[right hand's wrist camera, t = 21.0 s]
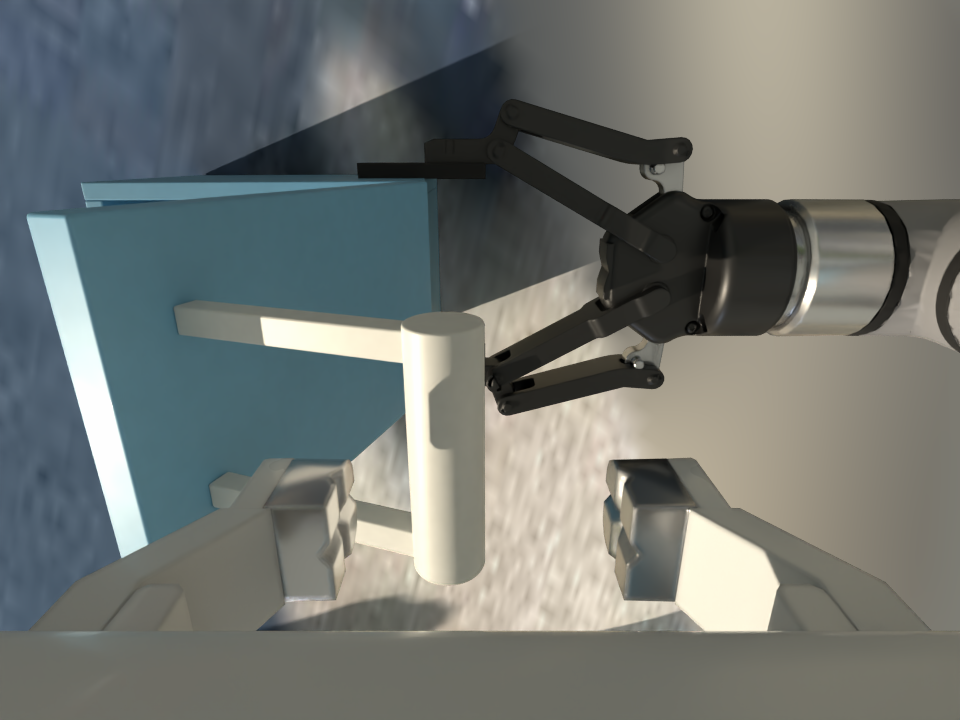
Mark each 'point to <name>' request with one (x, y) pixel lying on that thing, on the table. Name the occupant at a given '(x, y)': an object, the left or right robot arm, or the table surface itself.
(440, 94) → the table surface
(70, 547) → the table surface
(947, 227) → the left robot arm
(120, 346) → the lid
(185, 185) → the chest
